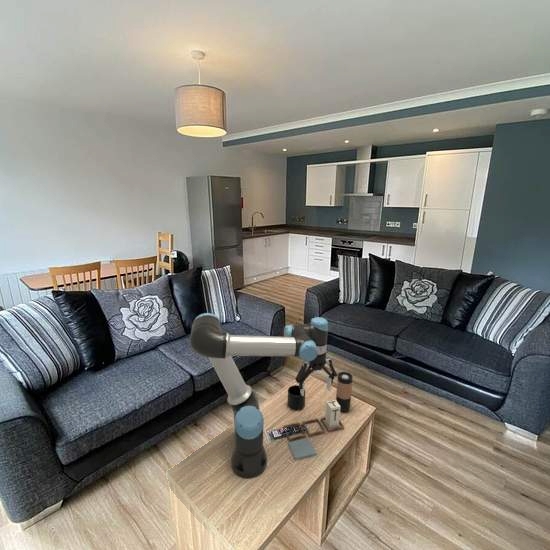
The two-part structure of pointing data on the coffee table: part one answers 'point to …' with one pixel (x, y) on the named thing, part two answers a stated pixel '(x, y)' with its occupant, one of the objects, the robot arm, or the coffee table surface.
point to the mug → (295, 398)
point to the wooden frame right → (332, 428)
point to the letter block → (332, 414)
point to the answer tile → (302, 449)
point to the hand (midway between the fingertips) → (315, 391)
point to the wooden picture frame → (296, 436)
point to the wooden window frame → (314, 432)
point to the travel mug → (344, 391)
